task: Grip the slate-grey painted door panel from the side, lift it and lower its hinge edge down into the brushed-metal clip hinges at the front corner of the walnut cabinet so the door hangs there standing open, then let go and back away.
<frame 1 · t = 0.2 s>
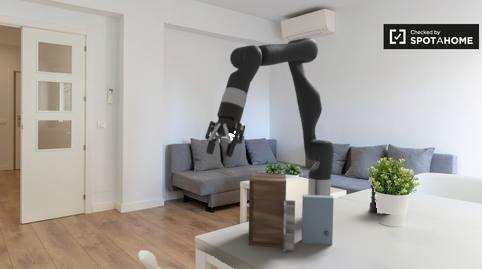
hand: (218, 155, 102), 31 cm above the table, tool tilted 20°, fingers open, 8 cm apart
door: (316, 242, 116), on the table
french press: (380, 211, 155), on the table
cabinet: (267, 238, 119), on the table
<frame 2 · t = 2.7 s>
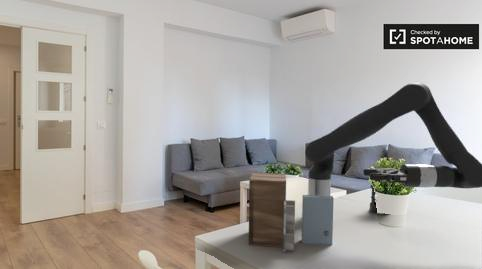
hand: (366, 174, 113), 24 cm above the table, tool horizontal, fingers open, 8 cm apart
nothing on the table moved.
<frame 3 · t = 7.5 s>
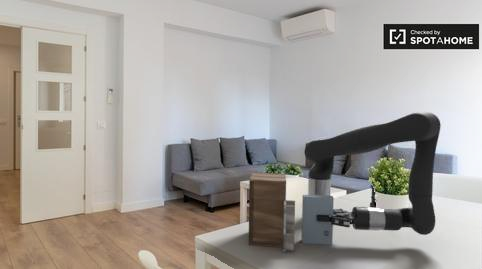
hand: (316, 216, 115), 9 cm above the table, tool horizontal, fingers closed on door, 3 cm apart
door: (316, 242, 116), on the table, touching gripper
everything else where it was.
when the fingers open (10 cm above the table, at t = 15.9 s): door stays where it is, on the table.
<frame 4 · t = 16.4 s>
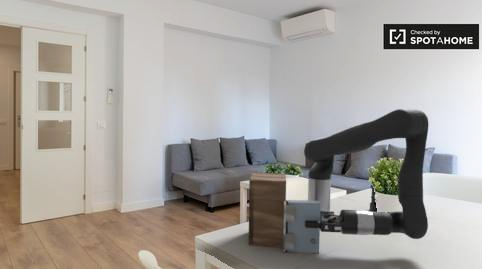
hand: (304, 219, 108), 10 cm above the table, tool horizontal, fingers open, 7 cm apart
door: (302, 250, 109), on the table
everything else where it was.
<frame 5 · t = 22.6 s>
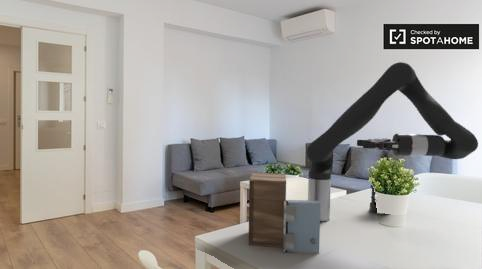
hand: (360, 143, 116), 34 cm above the table, tool horizontal, fingers open, 8 cm apart
nothing on the table moved.
at the end: door 0.2 cm from the target spot on the table beside the cabinet, on the table; door tilted 0°; the gripper is holding nothing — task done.
